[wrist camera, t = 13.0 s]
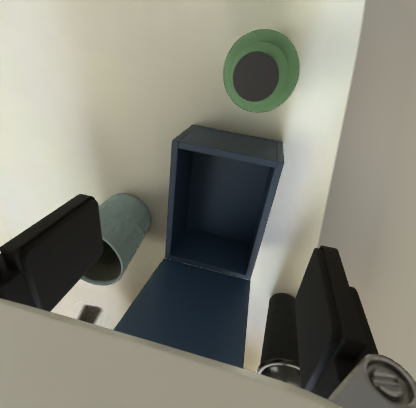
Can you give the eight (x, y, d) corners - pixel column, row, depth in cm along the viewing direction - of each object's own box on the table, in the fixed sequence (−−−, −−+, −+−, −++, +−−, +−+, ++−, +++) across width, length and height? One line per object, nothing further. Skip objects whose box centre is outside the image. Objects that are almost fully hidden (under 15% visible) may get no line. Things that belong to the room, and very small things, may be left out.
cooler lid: (82, 373, 21) (82, 417, 23) (238, 425, 20) (224, 468, 21) (163, 257, 38) (160, 288, 40) (250, 280, 37) (242, 311, 38)
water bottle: (244, 35, 31) (216, 13, 16) (299, 42, 30) (320, 27, 15) (235, 92, 34) (203, 117, 19) (284, 100, 33) (289, 133, 19)
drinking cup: (309, 292, 46) (329, 429, 29) (299, 321, 50) (311, 457, 33) (265, 283, 48) (259, 409, 30) (258, 311, 51) (249, 438, 34)
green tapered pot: (108, 180, 45) (57, 216, 34) (162, 204, 45) (128, 248, 34) (100, 225, 50) (54, 268, 40) (149, 247, 50) (116, 296, 40)
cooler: (192, 124, 37) (171, 140, 30) (282, 141, 35) (284, 162, 28) (182, 227, 46) (164, 258, 39) (254, 244, 44) (250, 280, 37)
